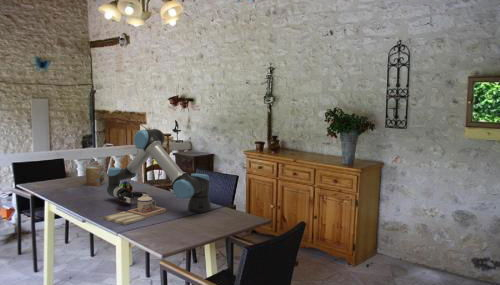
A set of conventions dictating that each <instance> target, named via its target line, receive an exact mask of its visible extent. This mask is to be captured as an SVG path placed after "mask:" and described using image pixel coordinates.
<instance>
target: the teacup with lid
mask: <svg viewBox="0 0 500 285" xmlns="http://www.w3.org/2000/svg"><path fill="white" fill-rule="evenodd" d="M147 195H148V194H147ZM147 195H146V194H144V195H143V196H142V197H137V208H138V212H140V213H144V214H145V213H149V212H152V211H153V210H152V208H154V207H155V206H157V201H156V200H153V197H150V196H149V197H148V196H147ZM153 202H154V204H153ZM152 206H153V207H152Z"/></svg>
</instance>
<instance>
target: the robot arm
mask: <svg viewBox="0 0 500 285" xmlns="http://www.w3.org/2000/svg"><path fill="white" fill-rule="evenodd" d="M165 138H166V137H165V135H164V133H163V132H162V131H161V130H160V129H157V128H153V129H152V128H151V129H141V130H138V131H136V133H135V135H134V137H133V143H134V146H135V147H136V148H137V149H139V150H140V151H138V153H137V154H136V155H135V156H134V157H133V158H132V160H131V161H130V162H129V163H128V164H127V166H125V168H120V167H117V166H115V167H109V168H108V171H107V172H108V173H107V175H108V176H107V182H108V183H107V186H105V187H106V188H105V193H106V194H107V195H108V196H110V197H115V198H116V199H117V201H118V202H121V203H124V202H125V203H127V204H130V203H131V199H133V198H140V197H142V196H143V195H144V194H146V195H147V196H148V197H150V194H147V192H146V191H145V192H142V191H136V190H135V191H134V190H133V191H130V190H129V189H128V188H125V187H123V186H120V187H119V184H120V185H121V181H125V180H129V179H130V180H131V179H133V178H135V177H137V172H138V171H139V170H140V168H141V167H142V166H143V165H144V164H145V163H146V162H147V160H148V159H150V157H152V159H153V160H154V161H155V162H156V163H157V164H158V166H159V167H160V169H162V171H163V172H164V173H165V174H166V175H167V177H168V178H169V179H170V181H171V186H172V192H173V194H174V196H176V197H177V198H178V199H181V200H186V199H189V201H188V205H187V211H189V212H192V213H206V212H211V210H212V205H211V204H212V203H211V200H210V176H209V175H208V174H205V173H191V174H190V175H189V174H188V172H185V171H183V170H182V169H181V168H180V167H179V165H178V164H177V163H176V162H175V160H174V159H173V158H172V157H171V156H170V155H169V154H168V153H167V151H166V150H165V148H164V147H163V145H164V143H165V140H166V139H165Z"/></svg>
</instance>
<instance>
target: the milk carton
mask: <svg viewBox="0 0 500 285" xmlns="http://www.w3.org/2000/svg"><path fill="white" fill-rule="evenodd" d="M104 184H105V165H104V164H102V163H100V161H99V160H98V159H96V160H94V161H92V163H91V164H89V165H87V167H85V186H86V187H100V186H103V185H104Z"/></svg>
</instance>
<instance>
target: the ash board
mask: <svg viewBox="0 0 500 285" xmlns="http://www.w3.org/2000/svg"><path fill="white" fill-rule="evenodd" d="M103 220H104V221H108V222H111V223H116V224H119V225H121V226H122V225H123V226H127V225H130V224H134V223H137V222H140V221H143V220H146V218H145V216H141V215H137V214H133V213H129V212H127V211H122V212H117V213H113V214H110V215H105V216H103Z"/></svg>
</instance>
